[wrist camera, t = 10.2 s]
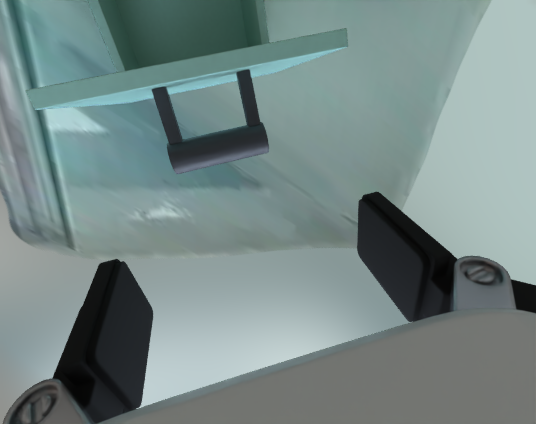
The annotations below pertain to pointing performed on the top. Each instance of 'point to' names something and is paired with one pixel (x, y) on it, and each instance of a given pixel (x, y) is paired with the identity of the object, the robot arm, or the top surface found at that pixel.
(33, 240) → the top surface
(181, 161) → the lid
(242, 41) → the storage box
